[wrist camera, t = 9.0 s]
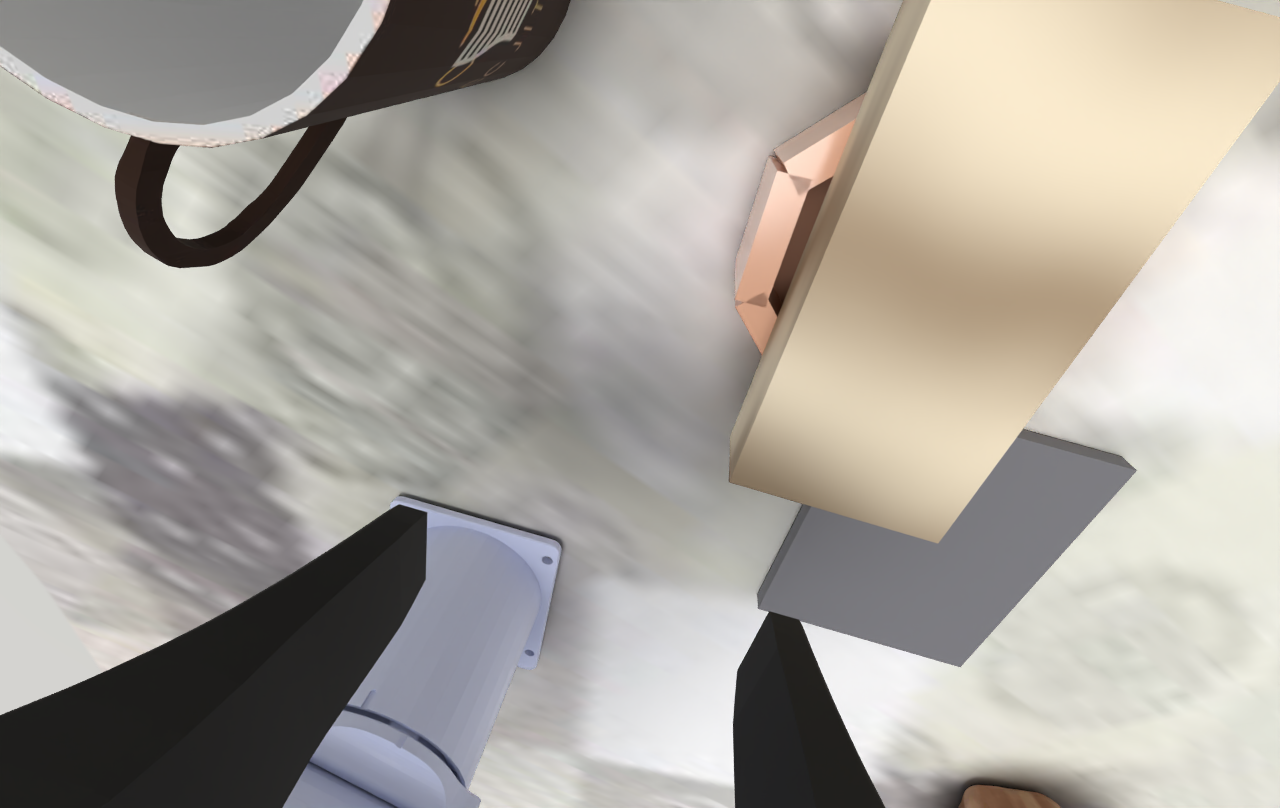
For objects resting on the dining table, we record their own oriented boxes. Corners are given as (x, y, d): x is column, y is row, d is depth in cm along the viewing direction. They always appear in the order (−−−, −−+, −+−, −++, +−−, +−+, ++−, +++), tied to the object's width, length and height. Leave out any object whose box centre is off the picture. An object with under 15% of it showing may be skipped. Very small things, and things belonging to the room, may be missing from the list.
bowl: (942, 392, 18) (989, 460, 15) (713, 329, 18) (707, 381, 15) (1096, 134, 14) (1213, 144, 11) (800, 57, 14) (820, 42, 11)
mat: (953, 650, 24) (960, 667, 23) (757, 594, 24) (757, 608, 23) (1121, 456, 18) (1136, 470, 17) (863, 385, 18) (868, 396, 18)
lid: (913, 489, 15) (938, 543, 14) (730, 436, 16) (728, 482, 14) (1207, 42, 10) (1319, 27, 8) (917, -37, 10) (959, -70, 8)
